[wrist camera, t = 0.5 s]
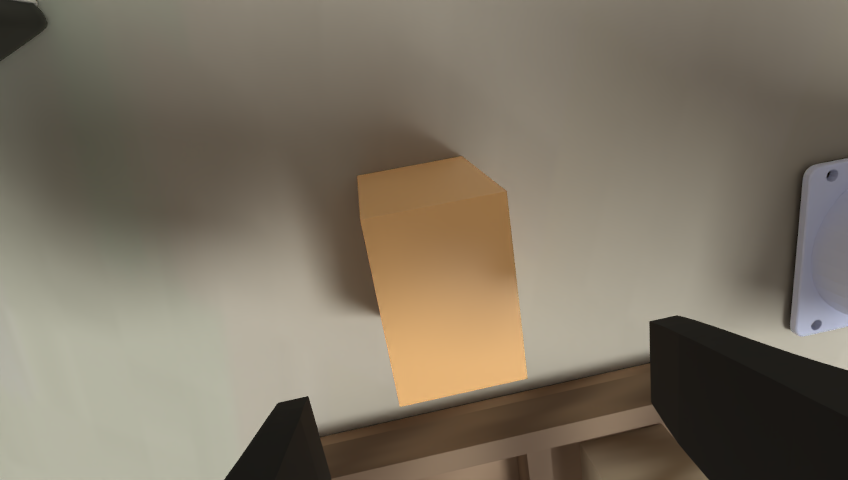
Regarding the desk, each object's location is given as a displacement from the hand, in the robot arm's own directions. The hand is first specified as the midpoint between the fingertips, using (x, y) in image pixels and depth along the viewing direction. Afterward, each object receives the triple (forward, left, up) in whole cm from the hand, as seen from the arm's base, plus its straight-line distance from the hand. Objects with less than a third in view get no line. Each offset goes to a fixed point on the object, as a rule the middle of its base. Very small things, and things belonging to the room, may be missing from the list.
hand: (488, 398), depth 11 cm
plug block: (0, 0, -10) cm, 10 cm away
